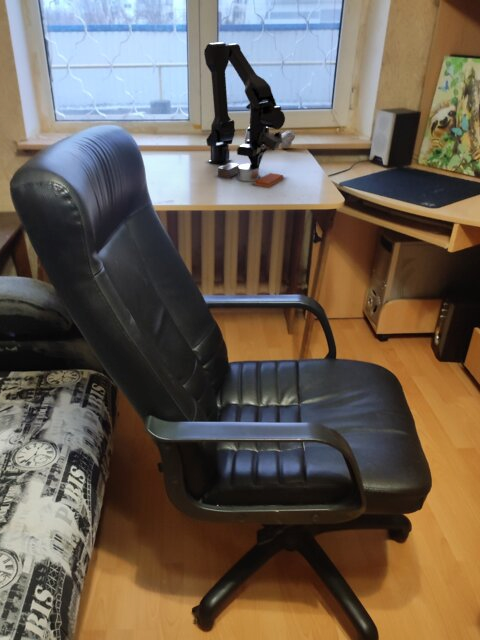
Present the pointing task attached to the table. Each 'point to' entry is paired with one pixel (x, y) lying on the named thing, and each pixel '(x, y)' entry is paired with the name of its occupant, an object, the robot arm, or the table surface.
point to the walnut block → (228, 170)
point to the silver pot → (248, 172)
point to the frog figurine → (287, 139)
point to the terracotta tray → (268, 180)
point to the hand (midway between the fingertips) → (256, 170)
